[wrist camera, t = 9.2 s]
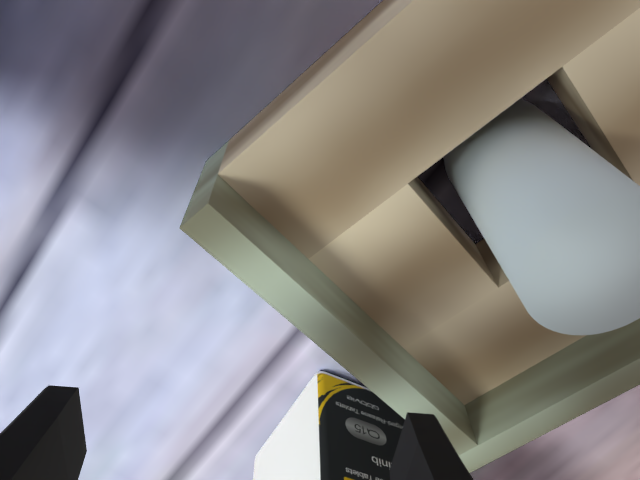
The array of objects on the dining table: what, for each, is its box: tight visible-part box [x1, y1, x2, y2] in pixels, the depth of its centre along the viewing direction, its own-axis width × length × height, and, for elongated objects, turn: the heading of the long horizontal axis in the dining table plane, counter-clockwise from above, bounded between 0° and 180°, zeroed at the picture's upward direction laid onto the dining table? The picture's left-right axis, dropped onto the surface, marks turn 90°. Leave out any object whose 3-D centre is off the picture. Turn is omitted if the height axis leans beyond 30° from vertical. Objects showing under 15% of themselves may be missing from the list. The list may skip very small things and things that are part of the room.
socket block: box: [180, 0, 640, 473], centre depth 18 cm, size 15×15×5 cm
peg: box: [444, 99, 640, 335], centre depth 16 cm, size 4×4×8 cm
